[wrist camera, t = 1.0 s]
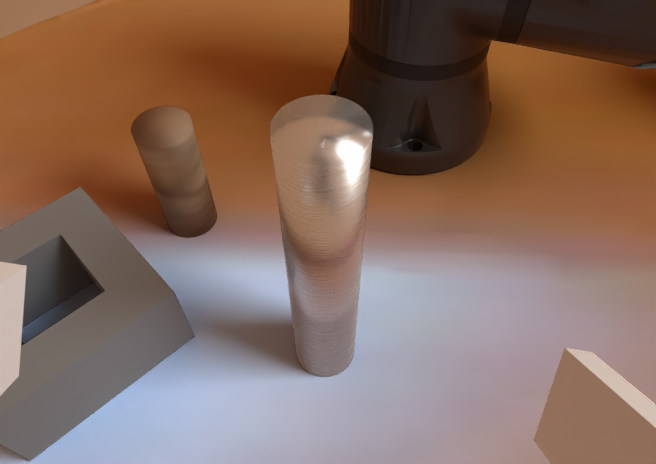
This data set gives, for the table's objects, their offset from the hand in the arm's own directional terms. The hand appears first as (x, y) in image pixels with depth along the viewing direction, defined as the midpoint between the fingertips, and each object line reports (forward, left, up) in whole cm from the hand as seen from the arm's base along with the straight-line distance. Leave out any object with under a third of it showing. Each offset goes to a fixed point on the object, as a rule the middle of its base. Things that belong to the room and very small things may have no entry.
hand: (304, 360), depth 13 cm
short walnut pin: (-7, -23, -22) cm, 33 cm away
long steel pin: (-7, -7, -22) cm, 24 cm away
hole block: (+5, -20, -22) cm, 30 cm away
